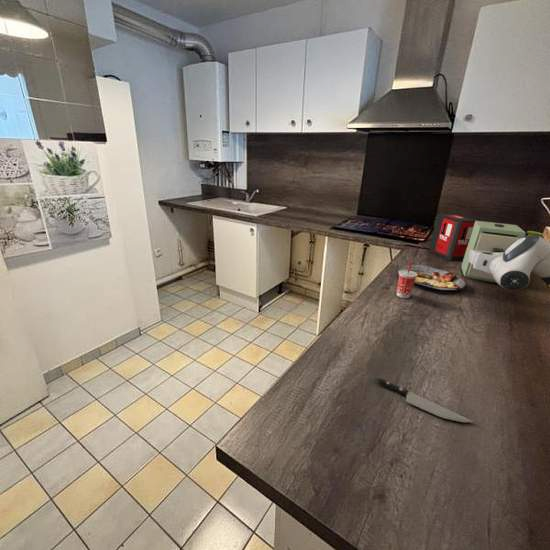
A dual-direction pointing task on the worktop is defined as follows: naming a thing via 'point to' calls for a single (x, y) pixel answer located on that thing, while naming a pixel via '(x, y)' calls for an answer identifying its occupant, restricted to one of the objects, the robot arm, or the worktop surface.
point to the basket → (490, 244)
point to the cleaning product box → (451, 236)
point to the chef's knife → (426, 404)
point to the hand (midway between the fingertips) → (496, 254)
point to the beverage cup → (406, 282)
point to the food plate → (436, 278)
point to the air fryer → (488, 229)
